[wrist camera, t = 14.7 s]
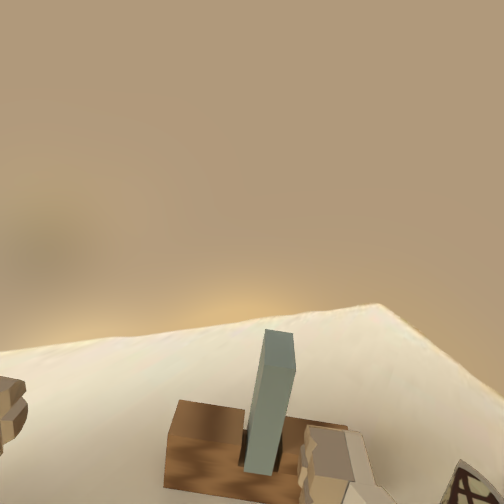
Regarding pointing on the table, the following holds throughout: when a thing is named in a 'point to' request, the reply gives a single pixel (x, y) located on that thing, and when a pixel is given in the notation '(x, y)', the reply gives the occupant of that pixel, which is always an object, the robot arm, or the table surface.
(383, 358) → the table surface
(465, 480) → the food container
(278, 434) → the sage green pillar
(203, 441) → the notched wooden block
